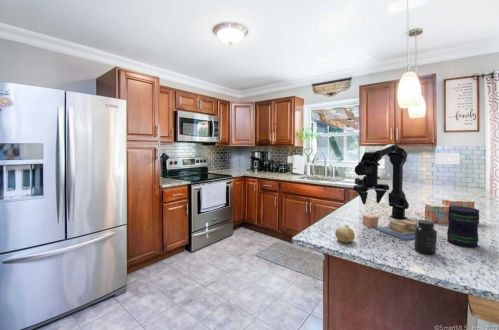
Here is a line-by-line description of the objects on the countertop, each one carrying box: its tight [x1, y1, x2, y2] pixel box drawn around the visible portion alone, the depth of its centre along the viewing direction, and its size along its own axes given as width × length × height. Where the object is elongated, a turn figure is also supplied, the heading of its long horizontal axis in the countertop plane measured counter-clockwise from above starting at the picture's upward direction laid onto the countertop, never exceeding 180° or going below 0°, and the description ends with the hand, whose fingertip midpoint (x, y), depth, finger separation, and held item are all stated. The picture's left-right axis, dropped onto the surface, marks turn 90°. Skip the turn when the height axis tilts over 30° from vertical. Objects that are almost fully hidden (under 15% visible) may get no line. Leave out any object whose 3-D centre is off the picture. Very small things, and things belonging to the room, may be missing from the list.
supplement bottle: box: [413, 219, 438, 256], centre depth 91 cm, size 7×7×12 cm
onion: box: [334, 224, 356, 244], centre depth 102 cm, size 8×8×7 cm
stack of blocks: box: [424, 198, 476, 224], centre depth 129 cm, size 21×6×12 cm, turn 85°
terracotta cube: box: [362, 214, 379, 228], centre depth 124 cm, size 5×5×5 cm
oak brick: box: [388, 219, 418, 234], centre depth 113 cm, size 10×6×4 cm, turn 105°
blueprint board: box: [374, 225, 415, 241], centre depth 113 cm, size 18×16×1 cm
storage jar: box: [446, 206, 480, 249], centre depth 99 cm, size 10×10×15 cm
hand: (370, 203), depth 124 cm, fingers open, 9 cm apart
